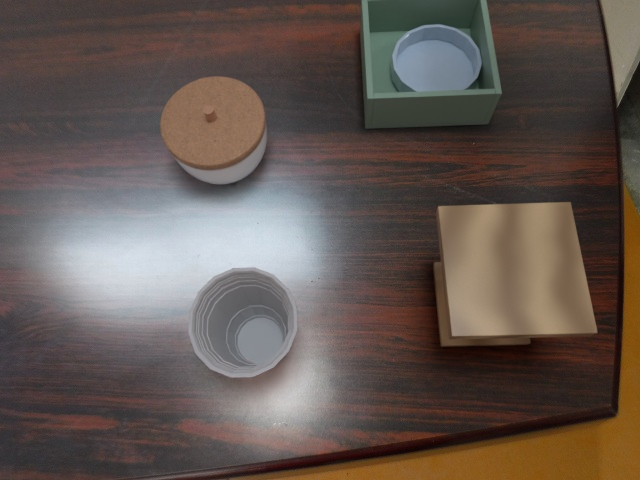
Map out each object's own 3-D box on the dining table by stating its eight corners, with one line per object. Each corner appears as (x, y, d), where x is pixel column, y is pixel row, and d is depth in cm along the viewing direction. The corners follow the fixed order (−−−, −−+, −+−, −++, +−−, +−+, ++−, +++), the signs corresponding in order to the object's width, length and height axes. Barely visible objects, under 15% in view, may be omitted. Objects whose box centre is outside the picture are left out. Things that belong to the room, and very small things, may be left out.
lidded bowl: (177, 201, 70) (148, 159, 60) (184, 119, 75) (159, 66, 64) (273, 198, 70) (261, 155, 59) (274, 116, 74) (263, 62, 64)
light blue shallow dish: (469, 37, 77) (474, 21, 74) (482, 106, 72) (488, 92, 70) (387, 42, 77) (388, 27, 74) (395, 111, 73) (397, 98, 70)
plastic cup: (203, 380, 62) (172, 366, 50) (226, 291, 65) (202, 258, 54) (296, 397, 60) (285, 386, 49) (313, 305, 64) (307, 275, 53)
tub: (473, 27, 78) (484, -10, 72) (488, 124, 72) (502, 93, 66) (359, 32, 79) (361, -4, 73) (365, 129, 73) (367, 98, 67)
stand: (525, 250, 66) (570, 201, 53) (543, 357, 61) (598, 333, 48) (419, 253, 66) (437, 205, 53) (428, 360, 61) (451, 336, 48)
